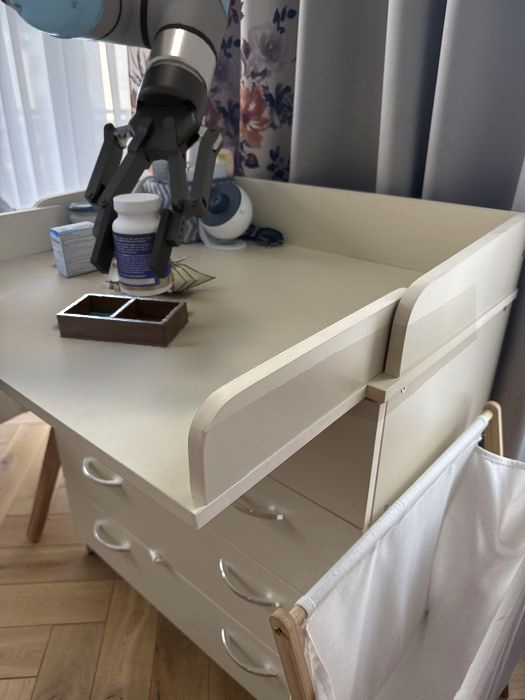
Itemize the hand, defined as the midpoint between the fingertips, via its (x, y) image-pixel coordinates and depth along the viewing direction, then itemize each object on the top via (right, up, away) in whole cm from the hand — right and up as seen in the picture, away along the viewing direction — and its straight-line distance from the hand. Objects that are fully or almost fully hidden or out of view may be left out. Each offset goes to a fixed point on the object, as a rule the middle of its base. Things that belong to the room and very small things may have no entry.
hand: (127, 269), depth 55 cm
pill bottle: (+1, -2, +5) cm, 5 cm away
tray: (-7, -5, +25) cm, 27 cm away
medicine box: (-21, +7, +50) cm, 55 cm away
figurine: (-3, +2, +40) cm, 41 cm away
